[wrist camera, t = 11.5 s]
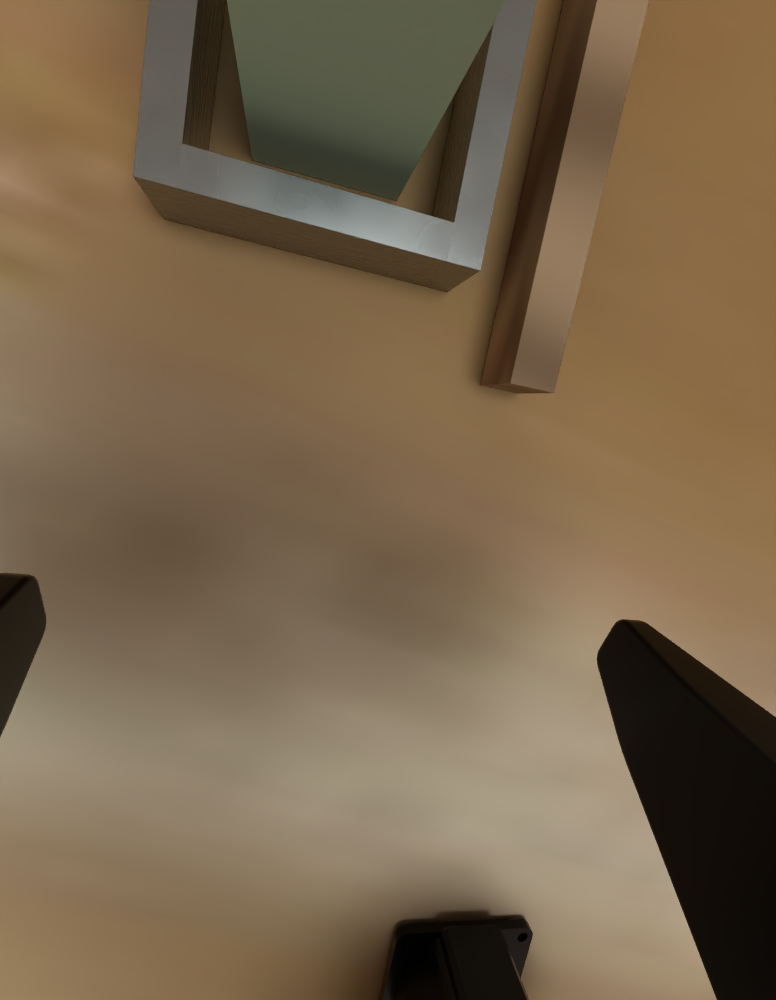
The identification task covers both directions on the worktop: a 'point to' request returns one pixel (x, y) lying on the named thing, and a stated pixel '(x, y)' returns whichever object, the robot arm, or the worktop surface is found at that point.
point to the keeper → (306, 204)
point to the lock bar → (352, 81)
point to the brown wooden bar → (562, 191)
